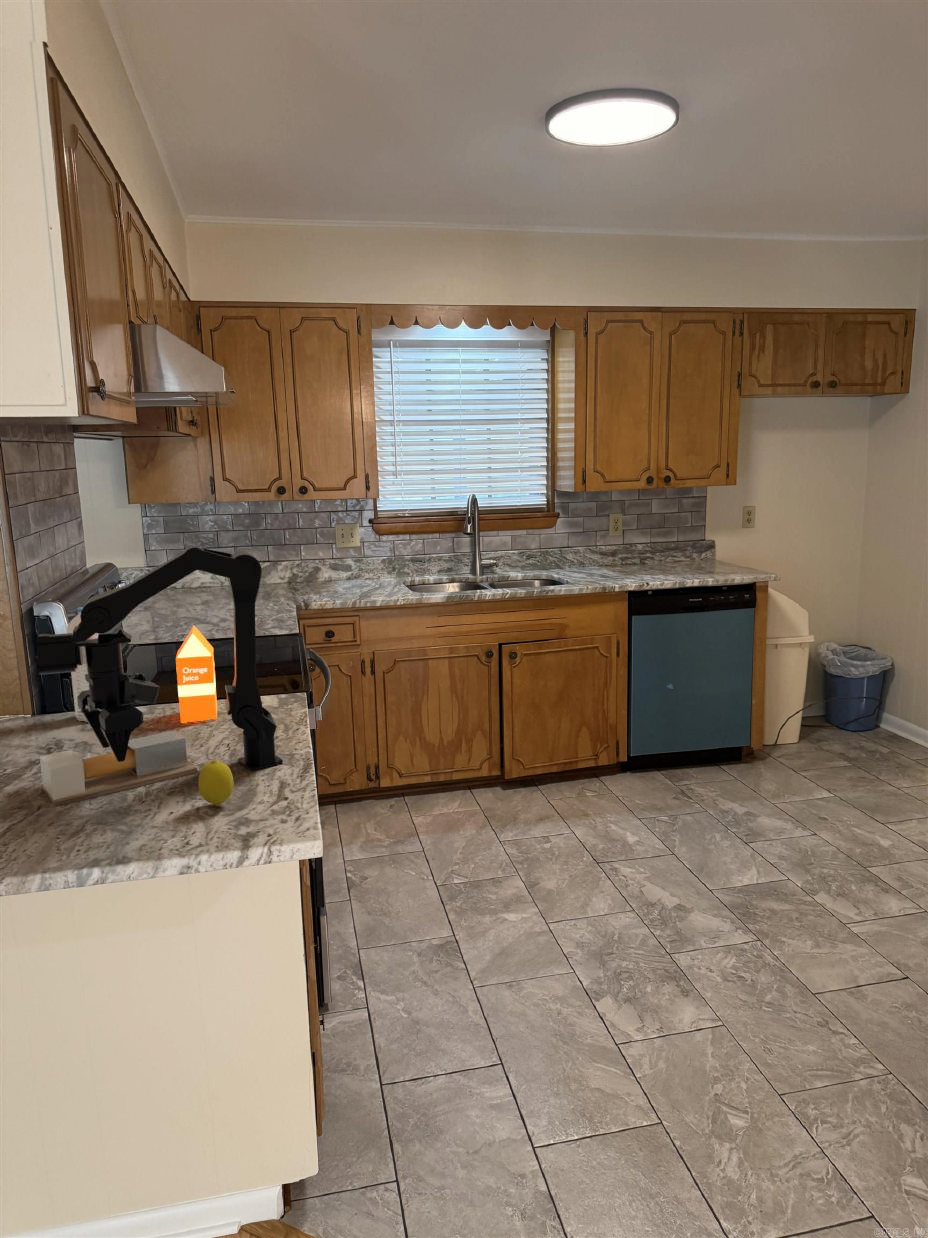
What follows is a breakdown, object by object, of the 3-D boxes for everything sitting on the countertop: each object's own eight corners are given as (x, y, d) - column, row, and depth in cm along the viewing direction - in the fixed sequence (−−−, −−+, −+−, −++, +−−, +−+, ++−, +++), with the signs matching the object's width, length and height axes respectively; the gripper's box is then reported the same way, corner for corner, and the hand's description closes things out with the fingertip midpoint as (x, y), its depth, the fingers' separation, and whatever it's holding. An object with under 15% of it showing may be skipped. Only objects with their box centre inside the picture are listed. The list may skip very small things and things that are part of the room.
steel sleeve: (187, 765, 153) (185, 737, 152) (137, 777, 148) (134, 748, 147) (176, 757, 158) (174, 730, 157) (127, 768, 152) (125, 740, 151)
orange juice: (180, 723, 181) (173, 633, 177) (182, 712, 189) (175, 626, 185) (217, 720, 183) (211, 631, 179) (218, 709, 191) (212, 623, 187)
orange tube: (163, 764, 152) (162, 746, 151) (88, 782, 144) (86, 762, 143) (157, 759, 154) (155, 740, 154) (82, 776, 147) (80, 756, 146)
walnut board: (197, 772, 153) (197, 768, 152) (55, 806, 138) (55, 802, 138) (178, 757, 160) (177, 753, 160) (42, 788, 146) (41, 784, 146)
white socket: (85, 792, 142) (82, 762, 141) (53, 800, 139) (50, 769, 138) (73, 778, 148) (70, 750, 147) (42, 785, 145) (39, 756, 144)
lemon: (222, 796, 141) (218, 751, 140) (241, 804, 138) (238, 758, 136) (193, 807, 137) (189, 761, 136) (213, 815, 134) (209, 768, 132)
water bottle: (101, 723, 182) (90, 610, 177) (70, 723, 182) (58, 610, 177) (114, 713, 189) (104, 605, 184) (84, 713, 189) (73, 605, 184)
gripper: (170, 671, 142) (177, 758, 145) (136, 652, 157) (143, 731, 160) (101, 682, 136) (110, 773, 139) (72, 661, 150) (81, 744, 153)
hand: (113, 754), depth 148 cm, fingers open, 9 cm apart
